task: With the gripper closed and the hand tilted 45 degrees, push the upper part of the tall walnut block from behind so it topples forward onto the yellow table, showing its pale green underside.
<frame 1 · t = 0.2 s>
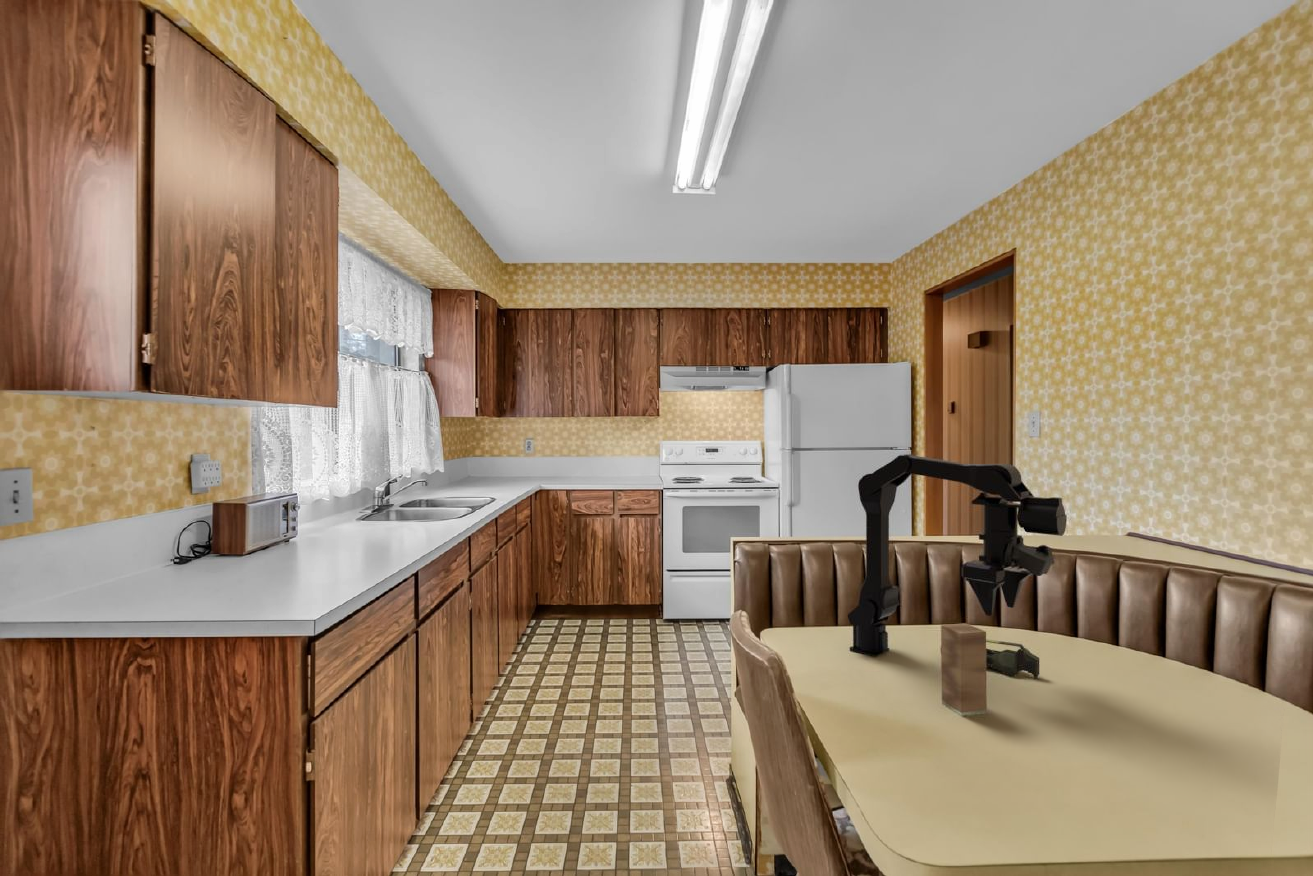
hand: (1000, 611, 117), 14 cm above the table, tool pointing down, fingers open, 9 cm apart
walnut block: (963, 708, 107), on the table
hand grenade: (988, 669, 126), on the table
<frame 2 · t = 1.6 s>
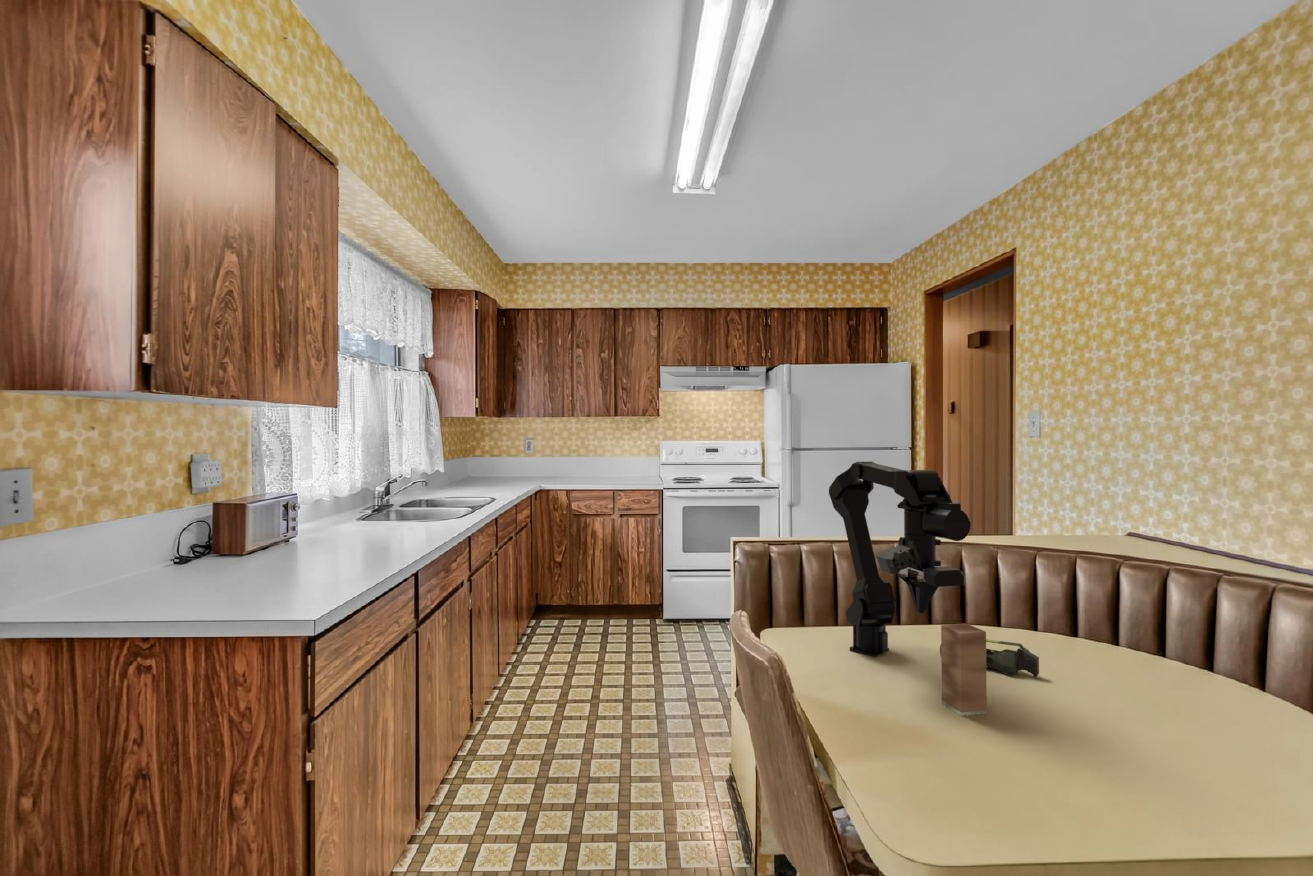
hand: (920, 612, 121), 13 cm above the table, tool pointing down, fingers closed
nothing on the table moved.
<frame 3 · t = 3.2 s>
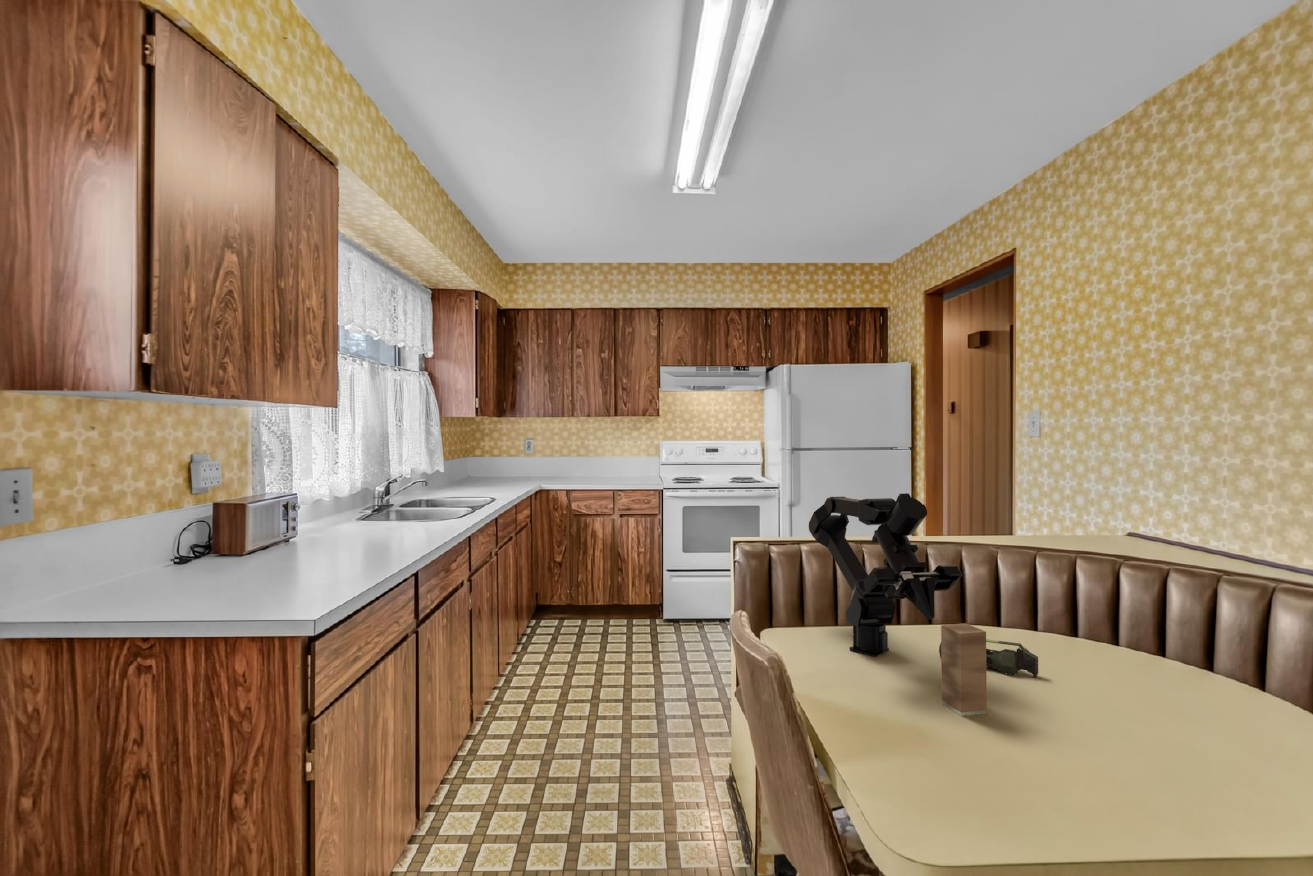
hand: (931, 618, 116), 13 cm above the table, tool tilted 45°, fingers closed
nothing on the table moved.
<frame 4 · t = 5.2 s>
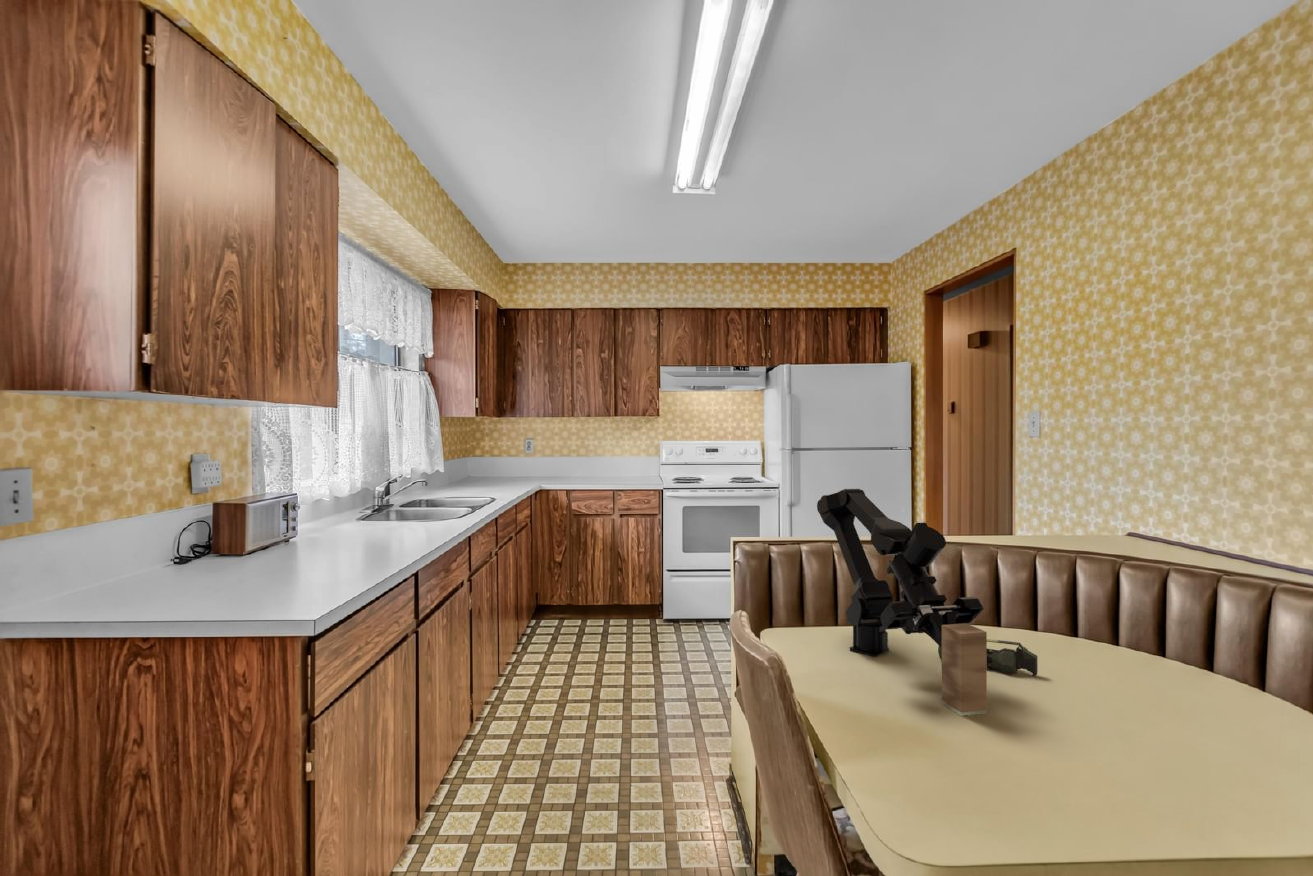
hand: (953, 655, 110), 8 cm above the table, tool tilted 45°, fingers closed, pressing on walnut block
walnut block: (963, 708, 107), on the table, touching gripper
everything else where it was.
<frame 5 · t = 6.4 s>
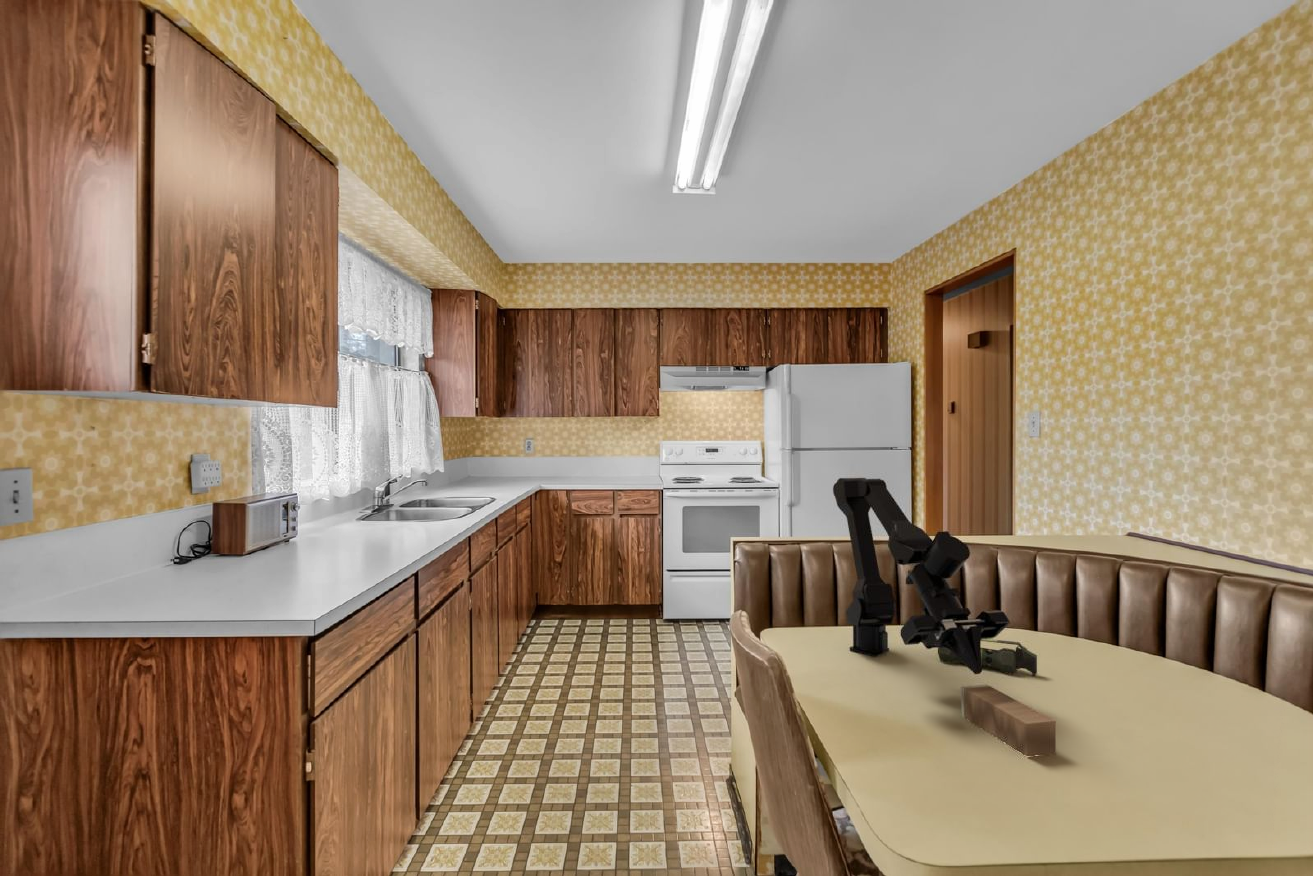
hand: (978, 673, 103), 8 cm above the table, tool tilted 45°, fingers closed
walnut block: (974, 700, 104), point 2 cm above the table, tilted 90°
everything else where it was.
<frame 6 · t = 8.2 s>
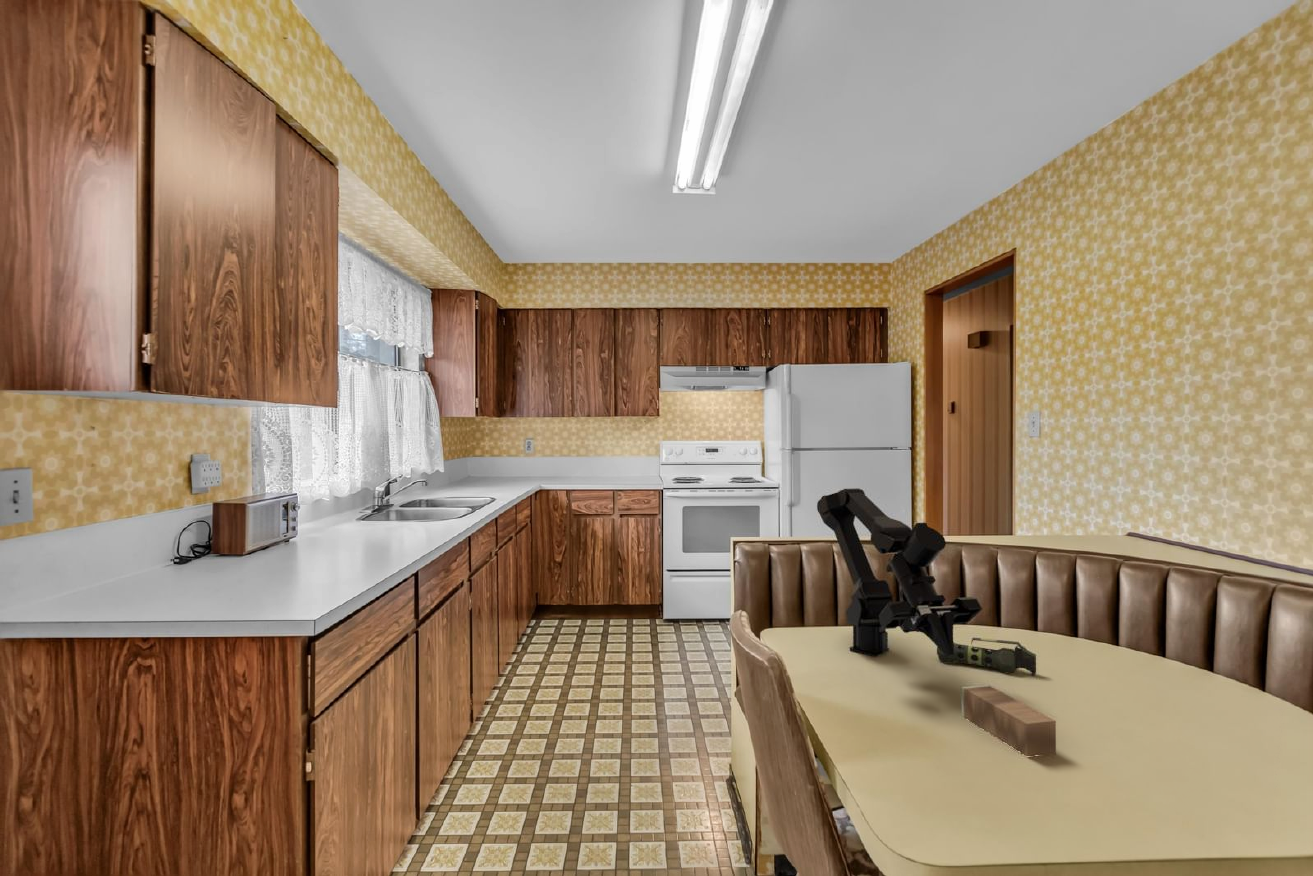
hand: (950, 655, 110), 8 cm above the table, tool tilted 45°, fingers closed
nothing on the table moved.
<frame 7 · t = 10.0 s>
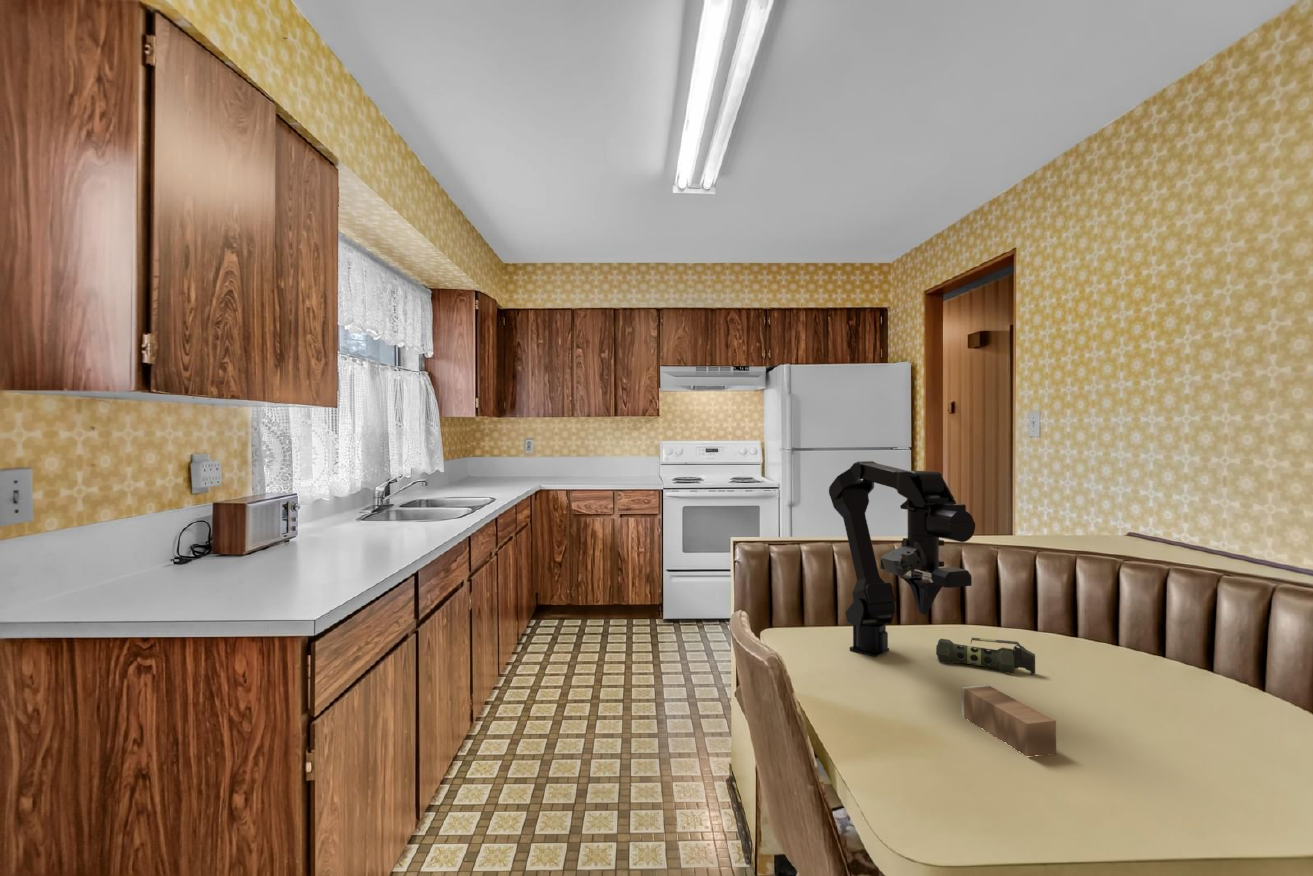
hand: (923, 613, 120), 13 cm above the table, tool pointing down, fingers closed
nothing on the table moved.
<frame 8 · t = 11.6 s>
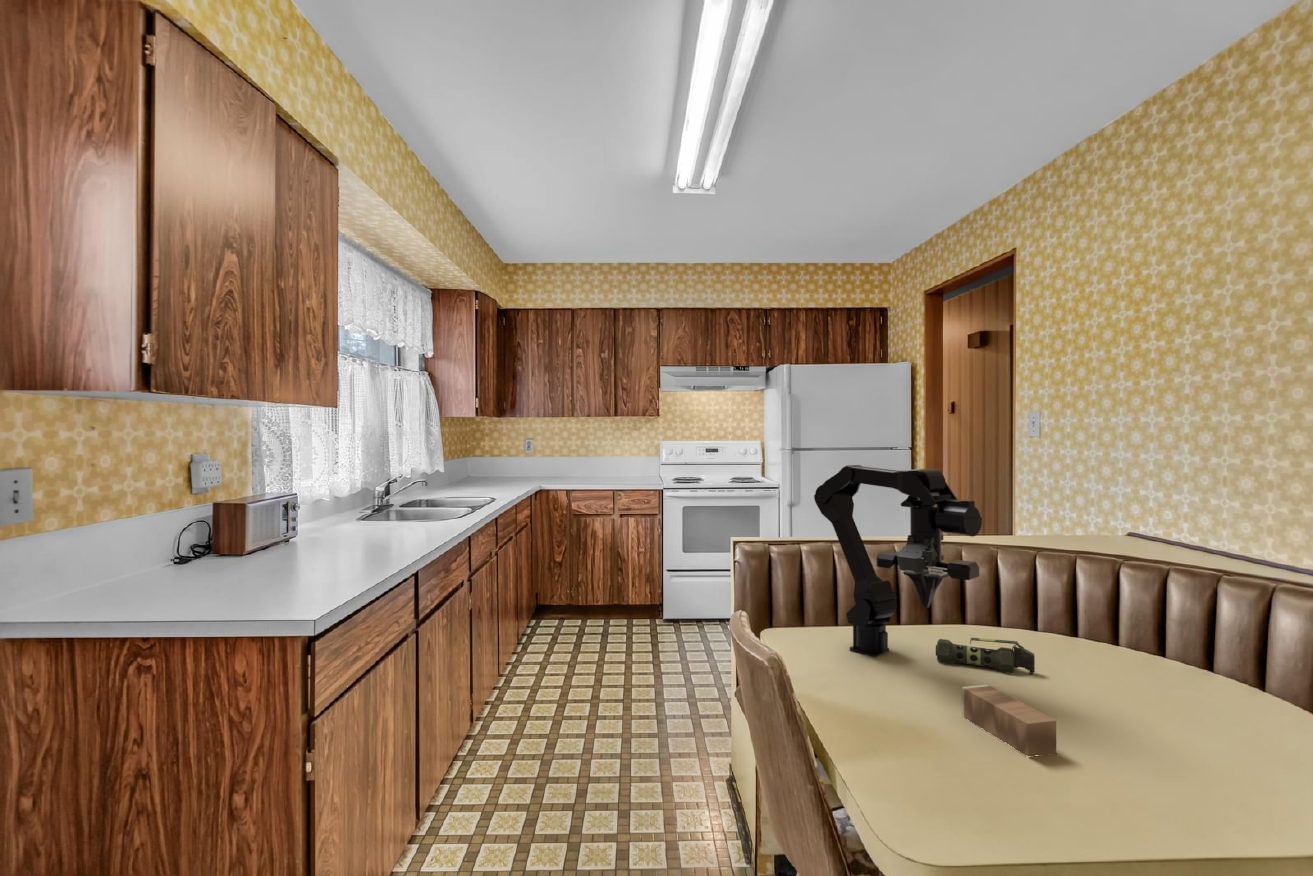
hand: (926, 607, 125), 13 cm above the table, tool pointing down, fingers closed
at the end: walnut block tilted 90°; walnut block point 2.4 cm above the table; the gripper is holding nothing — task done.
